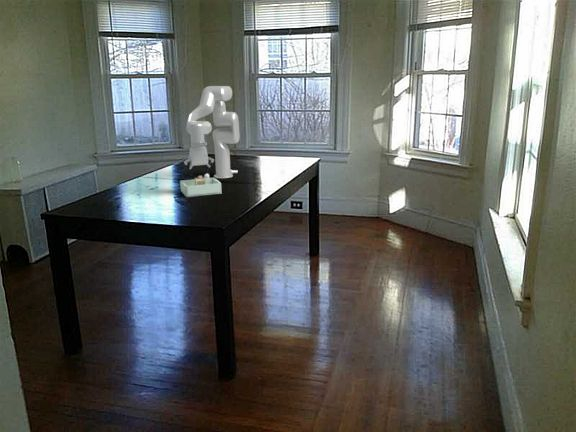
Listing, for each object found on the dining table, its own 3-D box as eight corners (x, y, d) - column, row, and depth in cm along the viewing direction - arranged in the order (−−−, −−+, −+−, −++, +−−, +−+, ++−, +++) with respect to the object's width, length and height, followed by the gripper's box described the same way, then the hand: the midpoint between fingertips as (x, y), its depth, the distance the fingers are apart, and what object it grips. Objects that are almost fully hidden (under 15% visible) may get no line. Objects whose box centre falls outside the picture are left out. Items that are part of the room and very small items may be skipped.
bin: (214, 187, 311) (213, 177, 310) (221, 193, 295) (221, 183, 294) (180, 190, 304) (179, 180, 303) (186, 197, 288) (185, 186, 287)
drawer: (195, 189, 301) (194, 175, 299) (204, 189, 303) (203, 174, 301) (197, 191, 296) (196, 177, 294) (206, 190, 298) (205, 176, 296)
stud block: (216, 182, 327) (215, 171, 325) (220, 185, 316) (220, 174, 314) (194, 184, 322) (193, 172, 320) (198, 187, 311) (197, 176, 309)
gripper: (211, 143, 299) (213, 172, 304) (181, 145, 293) (183, 175, 298) (214, 144, 292) (216, 174, 297) (183, 147, 286) (186, 177, 291)
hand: (200, 174), depth 298 cm, fingers open, 9 cm apart
